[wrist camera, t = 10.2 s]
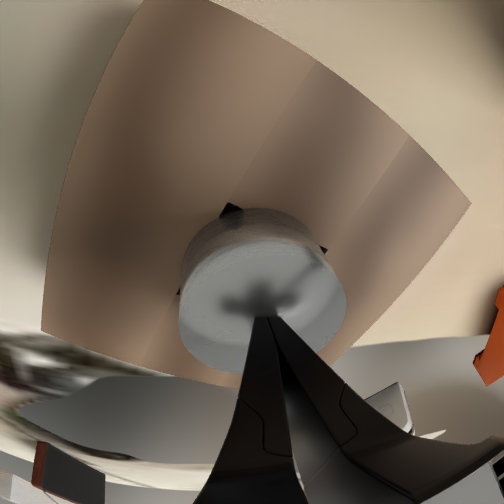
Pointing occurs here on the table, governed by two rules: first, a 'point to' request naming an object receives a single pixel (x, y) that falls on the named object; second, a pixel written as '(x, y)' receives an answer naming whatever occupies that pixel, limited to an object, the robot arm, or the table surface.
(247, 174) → the walnut block
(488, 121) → the table surface
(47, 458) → the radio
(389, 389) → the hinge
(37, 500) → the grey rectangular block
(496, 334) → the tape dispenser
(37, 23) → the table surface
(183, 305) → the steel peg
